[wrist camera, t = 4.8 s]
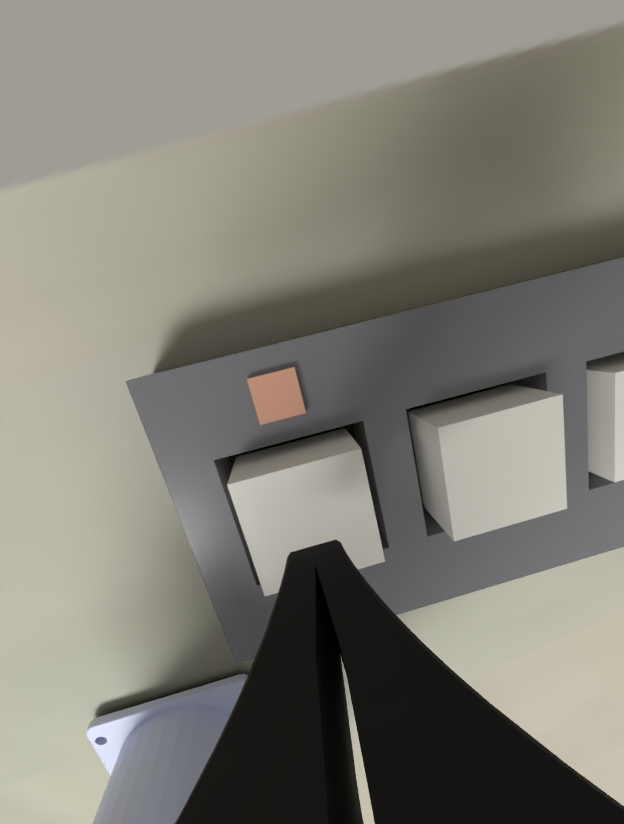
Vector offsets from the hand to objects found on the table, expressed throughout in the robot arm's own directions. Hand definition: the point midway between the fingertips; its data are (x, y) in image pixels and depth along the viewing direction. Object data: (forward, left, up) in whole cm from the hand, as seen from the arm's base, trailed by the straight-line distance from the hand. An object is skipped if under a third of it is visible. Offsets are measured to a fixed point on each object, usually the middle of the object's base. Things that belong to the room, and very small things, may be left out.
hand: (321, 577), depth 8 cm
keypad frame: (0, -7, -6) cm, 9 cm away
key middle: (0, -7, -6) cm, 9 cm away
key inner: (0, 0, -6) cm, 6 cm away
